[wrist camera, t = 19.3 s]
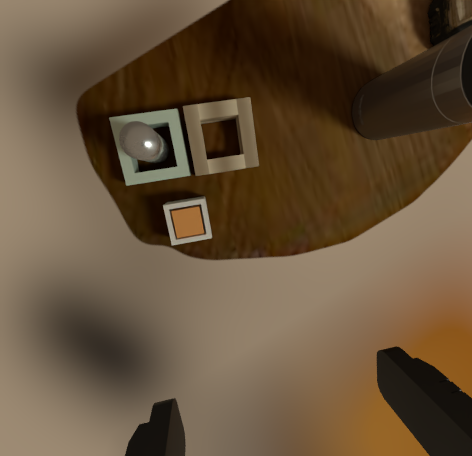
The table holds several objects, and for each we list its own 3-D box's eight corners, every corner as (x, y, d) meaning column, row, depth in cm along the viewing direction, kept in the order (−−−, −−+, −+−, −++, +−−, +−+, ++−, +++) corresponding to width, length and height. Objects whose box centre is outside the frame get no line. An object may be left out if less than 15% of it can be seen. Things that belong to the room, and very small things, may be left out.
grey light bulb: (166, 133, 36) (152, 118, 27) (171, 161, 37) (160, 156, 28) (138, 137, 36) (114, 123, 26) (145, 165, 37) (124, 161, 27)
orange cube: (199, 203, 39) (199, 206, 35) (204, 228, 40) (204, 233, 36) (174, 208, 38) (171, 211, 35) (179, 232, 39) (177, 238, 36)
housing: (204, 196, 39) (204, 198, 35) (211, 231, 41) (212, 237, 37) (167, 202, 39) (163, 205, 35) (175, 238, 40) (172, 245, 36)
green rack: (179, 113, 36) (177, 108, 33) (191, 175, 38) (190, 175, 35) (116, 122, 35) (108, 117, 32) (132, 184, 37) (126, 185, 35)
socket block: (246, 103, 37) (250, 97, 34) (254, 166, 39) (259, 165, 36) (184, 111, 36) (182, 106, 33) (196, 175, 38) (195, 176, 35)
